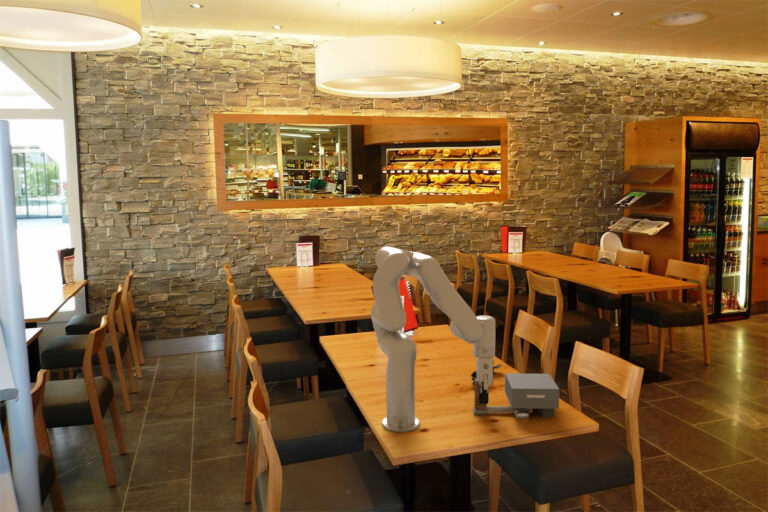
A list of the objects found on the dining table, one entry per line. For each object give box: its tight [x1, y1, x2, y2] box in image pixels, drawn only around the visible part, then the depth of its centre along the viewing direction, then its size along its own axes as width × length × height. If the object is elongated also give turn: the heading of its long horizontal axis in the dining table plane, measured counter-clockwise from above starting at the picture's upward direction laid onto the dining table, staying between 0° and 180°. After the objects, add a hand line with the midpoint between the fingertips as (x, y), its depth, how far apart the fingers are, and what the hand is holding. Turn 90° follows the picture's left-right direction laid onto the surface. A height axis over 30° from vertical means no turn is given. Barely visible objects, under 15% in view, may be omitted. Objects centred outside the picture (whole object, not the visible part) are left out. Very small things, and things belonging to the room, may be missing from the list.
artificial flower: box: [470, 357, 503, 387], centre depth 247 cm, size 9×22×10 cm, turn 147°
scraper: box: [472, 378, 533, 415], centre depth 209 cm, size 4×20×12 cm, turn 87°
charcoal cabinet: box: [504, 372, 560, 418], centre depth 211 cm, size 17×16×11 cm
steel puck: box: [514, 408, 530, 420], centre depth 207 cm, size 5×5×2 cm
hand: (483, 401), depth 210 cm, fingers closed on scraper, 2 cm apart
